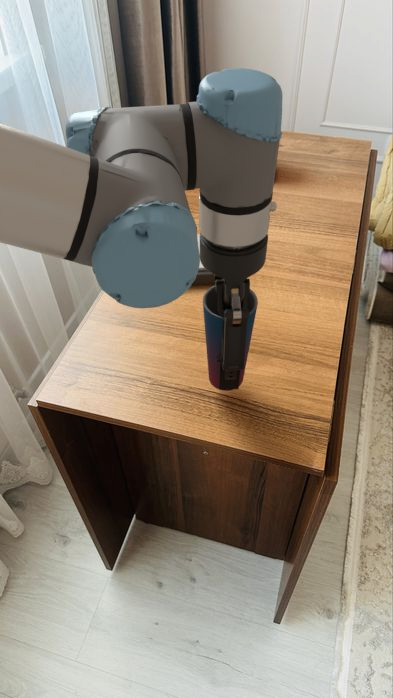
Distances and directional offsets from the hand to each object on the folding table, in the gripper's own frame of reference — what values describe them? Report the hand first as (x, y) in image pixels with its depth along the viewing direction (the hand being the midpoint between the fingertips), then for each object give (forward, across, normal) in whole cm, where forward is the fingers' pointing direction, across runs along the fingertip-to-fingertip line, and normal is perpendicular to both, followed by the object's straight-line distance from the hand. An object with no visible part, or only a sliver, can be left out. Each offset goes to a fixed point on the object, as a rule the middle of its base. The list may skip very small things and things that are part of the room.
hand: (226, 368), depth 71 cm
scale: (+4, +30, +4) cm, 31 cm away
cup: (+2, 0, 0) cm, 2 cm away
